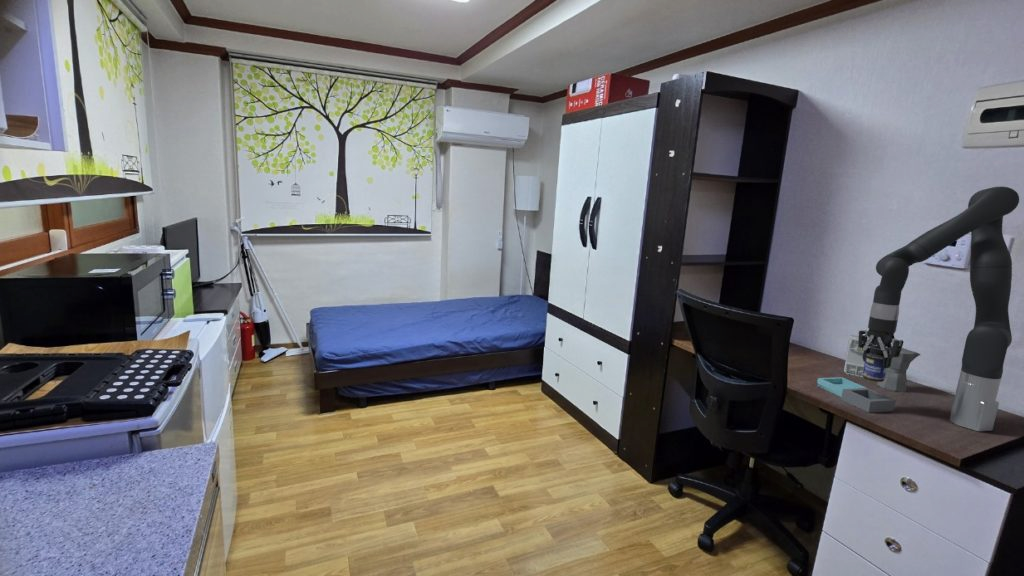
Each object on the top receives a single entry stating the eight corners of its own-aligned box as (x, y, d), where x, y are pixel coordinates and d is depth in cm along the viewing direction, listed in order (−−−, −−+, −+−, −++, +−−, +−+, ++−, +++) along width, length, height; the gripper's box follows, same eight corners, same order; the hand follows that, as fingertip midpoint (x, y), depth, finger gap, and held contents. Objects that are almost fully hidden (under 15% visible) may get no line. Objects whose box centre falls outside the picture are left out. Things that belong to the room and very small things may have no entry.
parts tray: (866, 396, 174) (868, 388, 173) (841, 397, 172) (843, 389, 171) (840, 384, 184) (841, 377, 184) (816, 385, 182) (818, 378, 182)
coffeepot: (908, 386, 186) (917, 342, 183) (917, 395, 177) (927, 348, 174) (860, 379, 192) (869, 336, 188) (867, 387, 183) (876, 342, 180)
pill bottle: (860, 378, 163) (865, 347, 162) (864, 374, 167) (869, 344, 166) (882, 383, 159) (887, 351, 157) (886, 379, 163) (891, 348, 161)
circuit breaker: (865, 368, 205) (871, 335, 203) (866, 378, 194) (873, 342, 191) (844, 364, 209) (850, 331, 207) (844, 373, 198) (850, 338, 195)
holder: (893, 411, 162) (895, 400, 161) (868, 412, 159) (870, 401, 159) (865, 398, 172) (867, 387, 171) (840, 399, 169) (842, 389, 169)
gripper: (914, 321, 153) (905, 371, 156) (872, 311, 167) (864, 357, 170) (896, 322, 152) (887, 372, 155) (855, 312, 166) (847, 358, 168)
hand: (875, 364), depth 162 cm, fingers closed on pill bottle, 6 cm apart
